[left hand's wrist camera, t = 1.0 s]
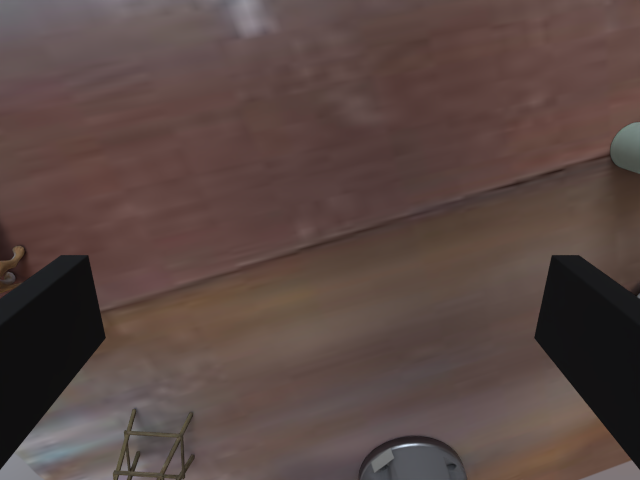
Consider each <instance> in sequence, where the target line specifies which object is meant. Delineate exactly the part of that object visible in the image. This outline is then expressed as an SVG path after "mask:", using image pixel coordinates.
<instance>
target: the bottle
mask: <svg viewBox="0 0 640 480" xmlns="http://www.w3.org/2000/svg"><path fill="white" fill-rule="evenodd" d="M610 154H611V158H612V160H613V162H614V163H615V164H616V165H617V166H619V167H621V168H623V169H626V170H629V171H633V172H636V173H639V174H640V122H636V123H632V124H630V125H627V126H626V127H624V128H623V129H622V130H620V131H619V132H618V133H617V135H616V136H615V138H614V139H613V141H612V144H611V148H610Z"/></svg>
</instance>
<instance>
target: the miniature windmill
mask: <svg viewBox="0 0 640 480" xmlns="http://www.w3.org/2000/svg"><path fill="white" fill-rule="evenodd" d="M135 414H136V409H133V410H132V414H131V417H130V421H129V424H128V428H127V431H126V430H125V431H124V437H125V439H124V443H123V446H122V450H121V453H120V457H119V461H118V464H117V468H116V471H115V470H114V472H113V480H118V477H119V475H128V478H127V480H131V479H132V477H133V476H140V477H158V478H157V480H164V478H175V479H176V480H181V479H182V478H183V479H184V478H185V473H186V471H187V469H188V468H189V466H190V465H191V463H192V461H193V460H194V455H191V456H190V458H189V459H188V461H187V463H186V464H185V465H184V444H183V435H184V433H185V431H186V429H187V427H188V425H189V423H190V420H191V418H192V416H193V413H189V415H188V417H187V419H186V421H185V423H184V425H183V427H182V429H181V432H180V434H171V433H154V432H137V431H131V429H132V425H133V422H134V418H135ZM130 435H143V436H159V437H176V438H177V440H176V442H175V444H174V446H173V448H172V450H171V452H170V454H169V456H168V458H167V460H166V462H165V464H164V466H163V468H162V470H161V472H160V473H150V472H134V471H135V468H136V465H137V462H138V459H139V457H140V451H138V452H137V453H136V456H135V459H134V461H133V464H132V467H131V468H130V459H129V450H128V440H129V436H130ZM180 441H181V459H182V471H181V472H180V474H179V475H164V473H165V471H166V469H167V467H168V465H169V463H170V461H171V459H172V457H173V455H174V453H175V451H176V449H177V447H178V445H179V443H180ZM125 451H126V455H127V464H128V471H120V470H121V466H122V462H123V459H124V455H125Z"/></svg>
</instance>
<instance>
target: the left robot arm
mask: <svg viewBox="0 0 640 480" xmlns="http://www.w3.org/2000/svg"><path fill="white" fill-rule="evenodd" d="M105 338H106V337H105V332H104V328H103V323H102V318H101V314H100V309H99V304H98V299H97V295H96V290H95V285H94V281H93V276H92V271H91V266H90V262H89V257H88V255H61V256H59V257H58V258H57V259H55V260H54V261H52V262H51V263H50V264H48V265H47V266H45V267H44V268H43V269H41V270H40V271H38V272H37V273H36V274H34V275H33V276H31V277H30V278H29V279H27V280H26V281H24V282H23V283H22V284H20V285H19V286H17V287H16V288H15V289H13V290H12V291H10V292H9V293H8V294H6V295H5V296H3V297H2V298H1V299H0V469H1V468H2V467H3V466H4V464H5V463H6V462H7V461H8V459H9V458H10V457H11V456H12V454H13V453H14V452H15V451H16V449H17V448H18V447H19V446H20V444H21V443H22V442H23V441H24V439H25V438H26V437H27V436H28V434H29V433H30V432H31V431H32V429H33V428H34V427H35V426H36V424H37V423H38V422H39V421H40V419H41V418H42V417H43V416H44V414H45V413H46V412H47V411H48V409H49V408H50V407H51V406H52V404H53V403H54V402H55V401H56V399H57V398H58V397H59V396H60V394H61V393H62V392H63V391H64V389H65V388H66V387H67V386H68V384H69V383H70V382H71V381H72V379H73V378H74V377H75V376H76V374H77V373H78V372H79V371H80V369H81V368H82V367H83V366H84V364H85V363H86V362H87V361H88V359H89V358H90V357H91V356H92V354H93V353H94V352H95V351H96V349H97V348H98V347H99V346H100V344H101V343H102V342H103V341H104V339H105ZM534 338H535V339H536V341H537V342H538V343H539V344H540V346H541V347H542V348H543V349H544V351H545V352H546V353H547V354H548V356H549V357H550V358H551V359H552V361H553V362H554V363H555V364H556V366H557V367H558V368H559V369H560V371H561V372H562V373H563V374H564V376H565V377H566V378H567V379H568V381H569V382H570V383H571V384H572V386H573V387H574V388H575V389H576V391H577V392H578V393H579V394H580V396H581V397H582V398H583V399H584V401H585V402H586V403H587V404H588V406H589V407H590V408H591V409H592V411H593V412H594V413H595V414H596V416H597V417H598V418H599V419H600V421H601V422H602V423H603V424H604V426H605V427H606V428H607V429H608V431H609V432H610V433H611V434H612V436H613V437H614V438H615V439H616V441H617V442H618V443H619V444H620V446H621V447H622V448H623V449H624V451H625V452H626V453H627V454H628V456H629V457H630V458H631V459H632V461H633V462H634V463H635V464H636V466H637V467H638V468H639V469H640V299H639V298H638V297H637V296H635V295H634V294H632V293H631V292H630V291H628V290H627V289H625V288H624V287H623V286H621V285H620V284H618V283H617V282H616V281H614V280H613V279H611V278H610V277H609V276H607V275H606V274H604V273H603V272H602V271H600V270H599V269H597V268H596V267H595V266H593V265H592V264H590V263H589V262H588V261H586V260H585V259H583V258H582V257H581V256H579V255H552V257H551V262H550V266H549V271H548V276H547V281H546V285H545V290H544V295H543V299H542V304H541V309H540V314H539V318H538V323H537V328H536V332H535V337H534ZM359 480H467V477H466V473H465V470H464V467H463V464H462V462H461V459H460V458H459V456H458V454H457V453H456V452H455V451H454V450H453V449H452V448H451V447H449V446H448V445H446V444H445V443H443V442H441V441H438V440H435V439H432V438H427V437H418V436H412V437H403V438H398V439H394V440H391V441H389V442H386V443H384V444H382V445H380V446H379V447H377V448H376V449H375V450H373V451H372V452H371V453H370V454H369V455H368V456H367V457H366V459H365V460H364V462H363V463H362V465H361V468H360V472H359Z"/></svg>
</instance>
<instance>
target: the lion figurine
mask: <svg viewBox="0 0 640 480" xmlns="http://www.w3.org/2000/svg"><path fill="white" fill-rule="evenodd" d="M24 252H25V251H24V248H23V247H22V246H16V247H14V248H13V253H14V257H13V258H12V259H11V260H8V261H0V278H1V277H2V276H3V275H4V273H5V272H6V271H7V270H8V269H11V268H15V267H16V266H17V264H18V262H19V260H20V259H21V258H22V257H23V255H24ZM4 279H5V280H1V279H0V293H2V292H5V291H8V290H11V289H14V288H16V287H17V286H19V285H20V284H22V283H17V284H13V283H14V281H15V276H14V274H13V273H10V272H7V273H5V275H4ZM11 284H12V285H11Z"/></svg>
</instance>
